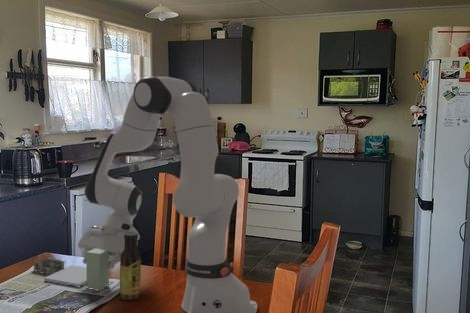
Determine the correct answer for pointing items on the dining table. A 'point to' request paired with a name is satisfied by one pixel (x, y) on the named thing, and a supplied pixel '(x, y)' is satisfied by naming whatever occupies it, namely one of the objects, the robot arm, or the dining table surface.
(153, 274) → the dining table surface
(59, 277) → the tile
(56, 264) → the mossy rock
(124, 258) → the sauce bottle
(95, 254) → the sage block
